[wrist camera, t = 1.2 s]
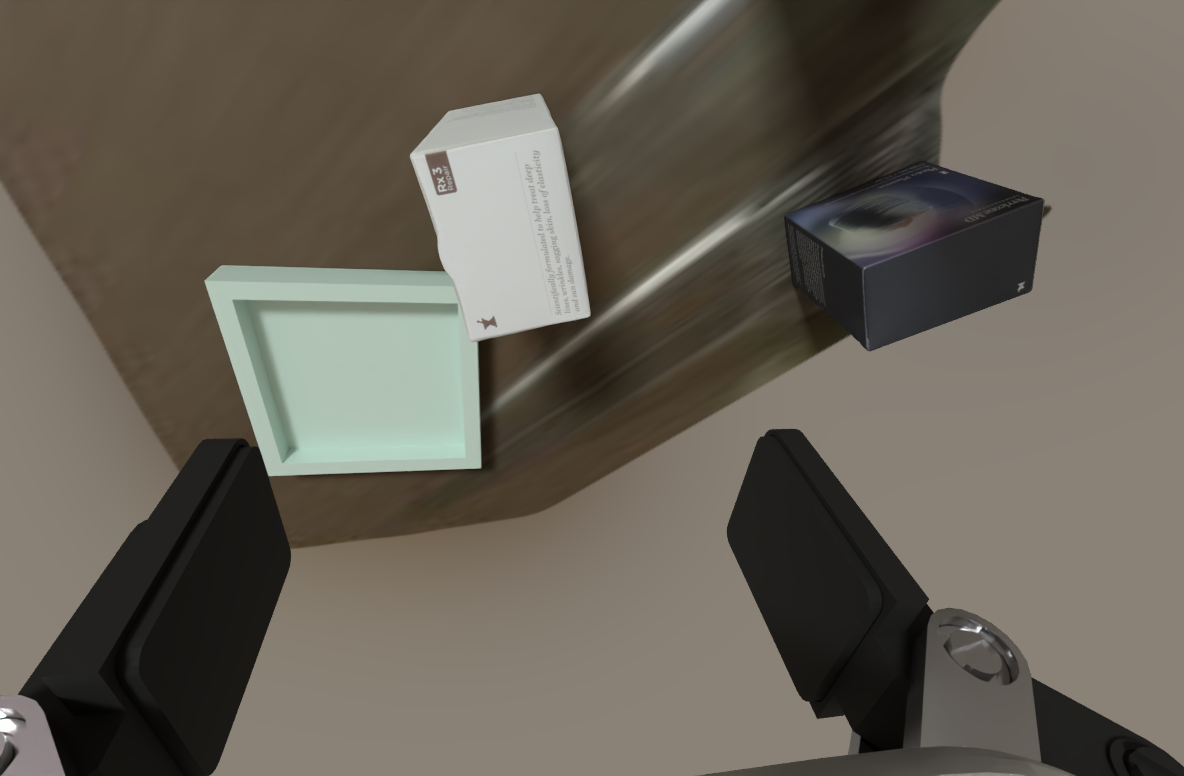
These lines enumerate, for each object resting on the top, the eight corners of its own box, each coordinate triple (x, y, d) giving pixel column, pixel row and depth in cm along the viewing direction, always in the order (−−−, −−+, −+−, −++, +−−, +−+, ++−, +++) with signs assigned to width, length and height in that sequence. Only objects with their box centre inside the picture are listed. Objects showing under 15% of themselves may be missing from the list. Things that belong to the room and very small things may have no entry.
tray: (476, 272, 37) (475, 287, 35) (481, 448, 46) (481, 468, 44) (221, 265, 34) (204, 280, 32) (279, 454, 43) (268, 475, 41)
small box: (925, 152, 37) (1054, 192, 29) (923, 236, 41) (1036, 294, 33) (781, 211, 38) (864, 266, 30) (792, 288, 42) (869, 358, 33)
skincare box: (564, 223, 36) (601, 326, 24) (477, 241, 36) (470, 354, 24) (538, 83, 31) (568, 124, 19) (437, 103, 31) (403, 157, 19)
